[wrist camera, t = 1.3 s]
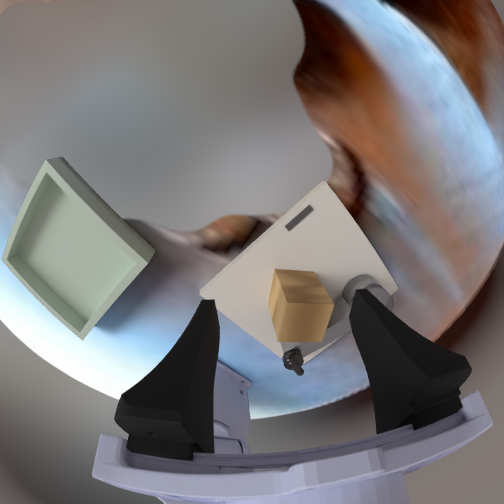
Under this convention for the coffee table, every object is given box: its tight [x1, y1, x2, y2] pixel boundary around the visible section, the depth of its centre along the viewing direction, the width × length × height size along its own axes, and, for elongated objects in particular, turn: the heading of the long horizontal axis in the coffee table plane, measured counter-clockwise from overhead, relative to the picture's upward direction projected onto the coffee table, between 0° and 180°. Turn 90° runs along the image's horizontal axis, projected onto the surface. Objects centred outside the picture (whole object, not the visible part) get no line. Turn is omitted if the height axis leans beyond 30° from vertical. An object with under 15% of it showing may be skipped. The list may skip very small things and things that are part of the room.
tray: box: [2, 157, 156, 340], centre depth 23 cm, size 14×14×3 cm
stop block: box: [268, 269, 334, 342], centre depth 24 cm, size 4×4×6 cm
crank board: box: [200, 181, 399, 364], centre depth 28 cm, size 16×16×1 cm
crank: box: [280, 274, 393, 376], centre depth 26 cm, size 13×4×5 cm, turn 123°
